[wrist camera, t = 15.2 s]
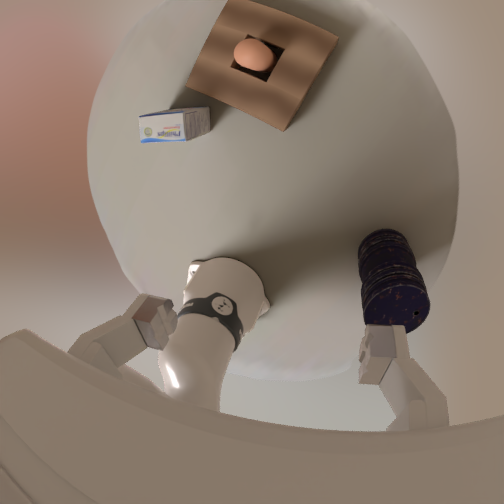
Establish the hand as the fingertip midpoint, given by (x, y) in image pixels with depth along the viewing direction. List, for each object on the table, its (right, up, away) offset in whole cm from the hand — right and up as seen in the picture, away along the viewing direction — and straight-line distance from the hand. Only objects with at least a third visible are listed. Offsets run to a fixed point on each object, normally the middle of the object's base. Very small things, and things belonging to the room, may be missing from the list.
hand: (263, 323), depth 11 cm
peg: (+1, +31, +22) cm, 38 cm away
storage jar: (+23, +3, +33) cm, 41 cm away
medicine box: (-11, +25, +30) cm, 40 cm away
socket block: (+1, +31, +22) cm, 38 cm away
